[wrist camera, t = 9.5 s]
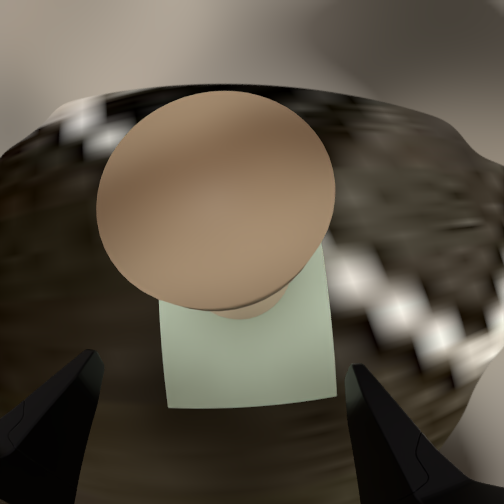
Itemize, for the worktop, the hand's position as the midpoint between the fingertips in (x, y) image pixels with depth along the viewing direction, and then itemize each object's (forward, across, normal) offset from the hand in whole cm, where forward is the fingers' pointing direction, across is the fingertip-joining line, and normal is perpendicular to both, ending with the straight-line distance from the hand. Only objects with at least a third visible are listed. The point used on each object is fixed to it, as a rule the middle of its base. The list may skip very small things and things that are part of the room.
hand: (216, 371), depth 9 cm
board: (+12, 0, +4) cm, 13 cm away
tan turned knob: (+11, 0, +3) cm, 12 cm away
